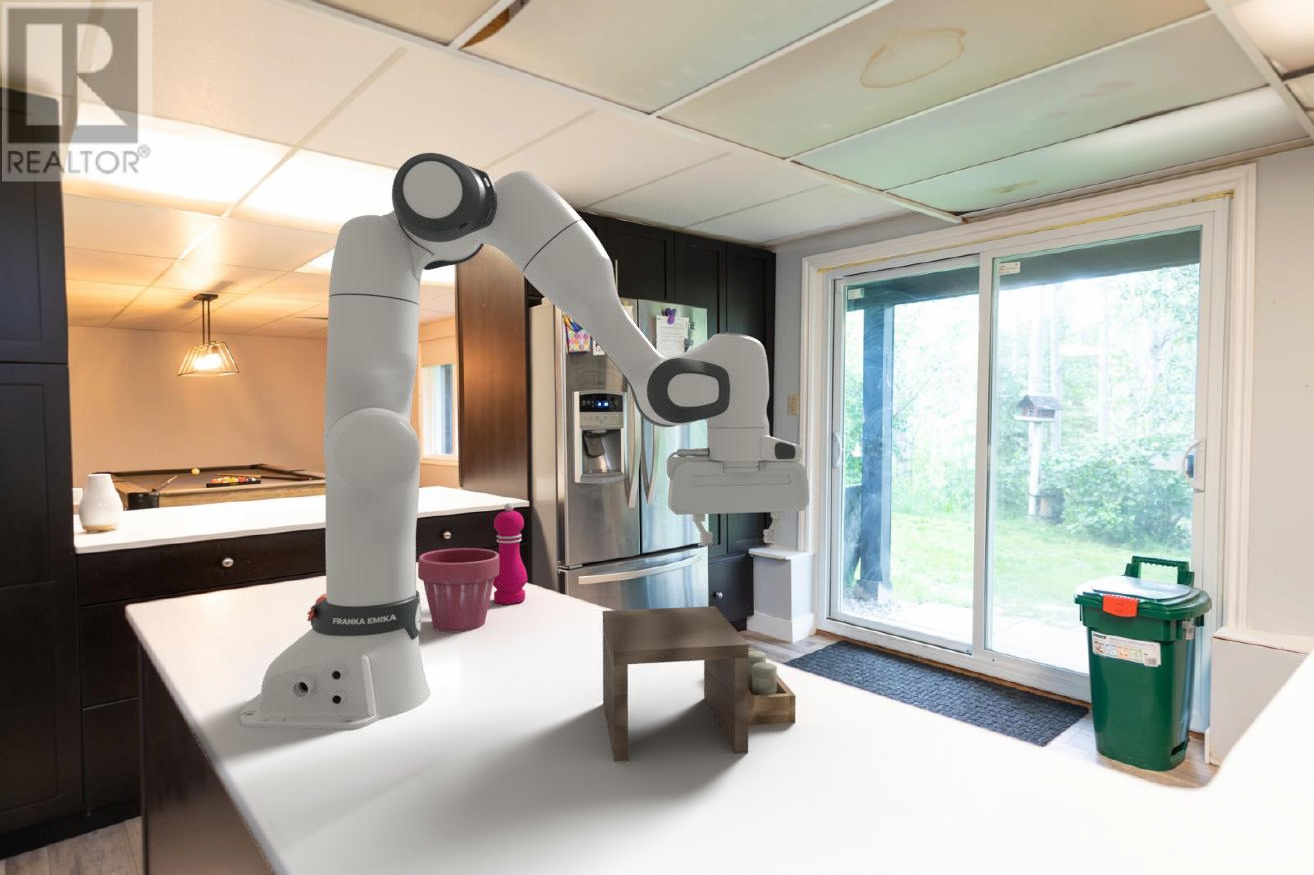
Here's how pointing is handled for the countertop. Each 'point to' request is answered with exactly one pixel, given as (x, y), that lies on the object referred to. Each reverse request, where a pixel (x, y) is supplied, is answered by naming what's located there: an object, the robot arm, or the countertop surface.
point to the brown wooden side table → (676, 641)
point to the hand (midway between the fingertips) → (738, 543)
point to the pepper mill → (509, 558)
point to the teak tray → (772, 705)
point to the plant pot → (458, 586)
